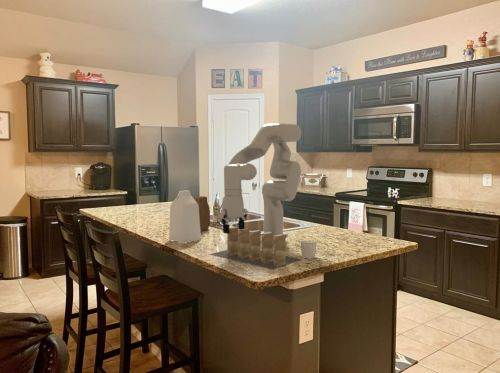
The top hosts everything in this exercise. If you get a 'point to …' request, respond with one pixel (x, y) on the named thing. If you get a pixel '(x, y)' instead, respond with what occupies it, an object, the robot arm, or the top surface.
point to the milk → (184, 218)
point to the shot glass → (308, 249)
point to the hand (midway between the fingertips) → (234, 231)
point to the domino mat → (256, 262)
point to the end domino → (232, 241)
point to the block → (203, 212)
